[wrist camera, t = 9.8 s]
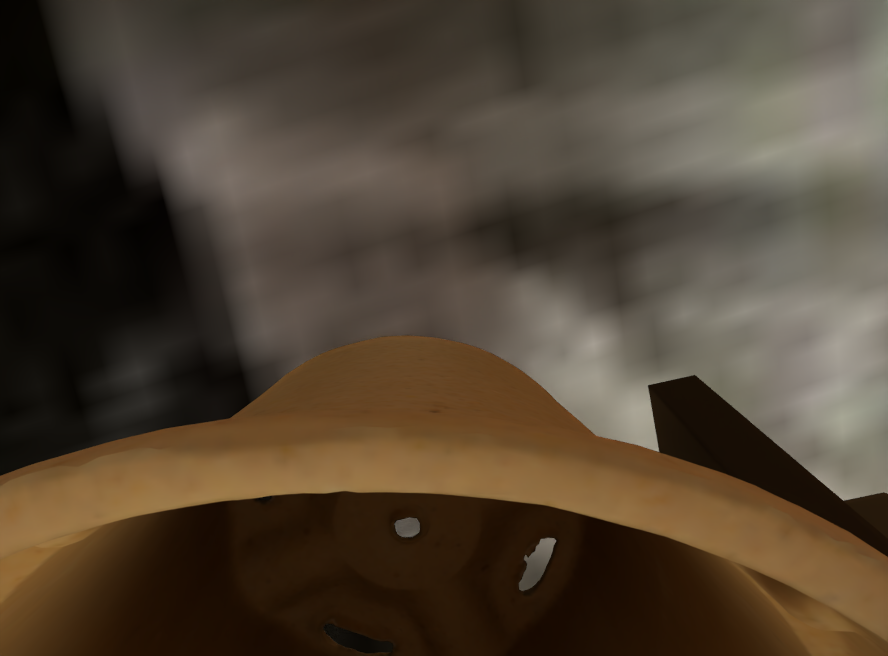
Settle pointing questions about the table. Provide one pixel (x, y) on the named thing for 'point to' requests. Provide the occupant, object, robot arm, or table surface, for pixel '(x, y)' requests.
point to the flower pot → (436, 545)
